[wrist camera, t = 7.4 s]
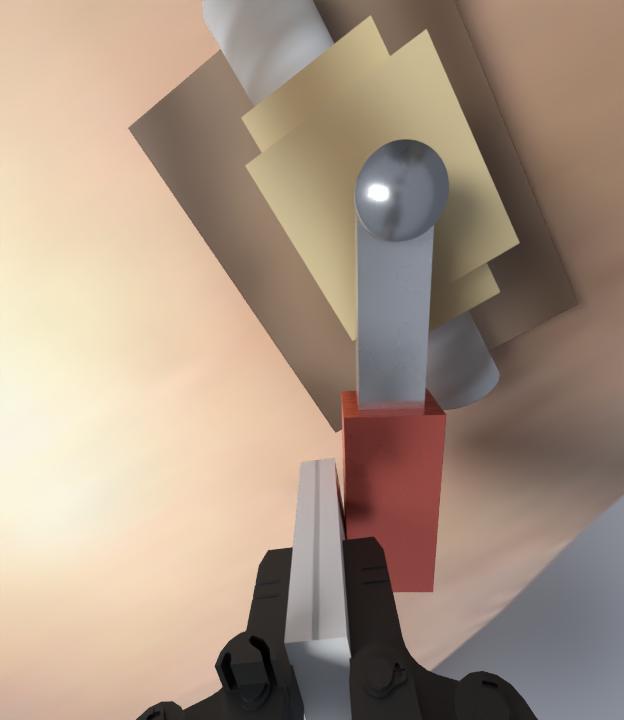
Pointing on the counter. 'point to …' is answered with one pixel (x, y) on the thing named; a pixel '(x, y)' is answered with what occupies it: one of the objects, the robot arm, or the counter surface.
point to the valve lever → (395, 364)
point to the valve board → (264, 245)
